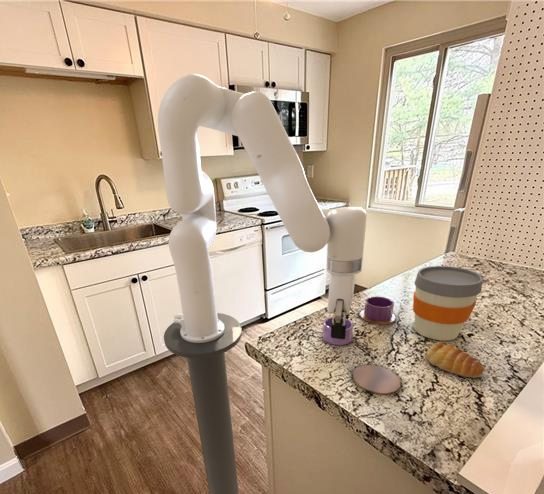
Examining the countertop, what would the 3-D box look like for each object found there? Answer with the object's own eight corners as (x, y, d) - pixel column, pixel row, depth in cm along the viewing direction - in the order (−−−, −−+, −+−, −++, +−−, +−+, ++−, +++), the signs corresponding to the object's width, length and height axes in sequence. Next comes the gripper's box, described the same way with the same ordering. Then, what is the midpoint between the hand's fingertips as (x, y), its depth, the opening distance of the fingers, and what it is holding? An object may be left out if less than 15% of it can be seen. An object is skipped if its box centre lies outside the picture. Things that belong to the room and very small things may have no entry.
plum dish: (363, 319, 85) (365, 305, 83) (364, 308, 90) (366, 295, 88) (391, 322, 82) (394, 308, 80) (391, 311, 87) (393, 297, 85)
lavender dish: (321, 342, 78) (321, 328, 76) (324, 329, 83) (325, 315, 82) (350, 347, 75) (351, 332, 73) (352, 332, 80) (353, 318, 79)
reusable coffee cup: (398, 318, 84) (407, 266, 78) (450, 318, 82) (464, 264, 75) (418, 344, 73) (431, 286, 67) (479, 345, 71) (498, 284, 64)
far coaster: (358, 321, 85) (358, 320, 85) (360, 307, 92) (360, 306, 92) (395, 326, 81) (396, 325, 81) (394, 311, 88) (394, 310, 88)
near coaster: (351, 388, 63) (351, 386, 63) (354, 363, 70) (354, 361, 69) (401, 399, 59) (401, 397, 59) (399, 371, 66) (399, 369, 66)
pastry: (488, 370, 63) (493, 355, 61) (473, 385, 60) (478, 369, 58) (436, 350, 70) (440, 336, 69) (421, 362, 67) (424, 348, 66)
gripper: (331, 251, 79) (328, 310, 86) (321, 276, 66) (319, 344, 73) (364, 252, 76) (358, 313, 83) (360, 278, 62) (354, 349, 69)
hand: (340, 327), depth 78 cm, fingers open, 9 cm apart
